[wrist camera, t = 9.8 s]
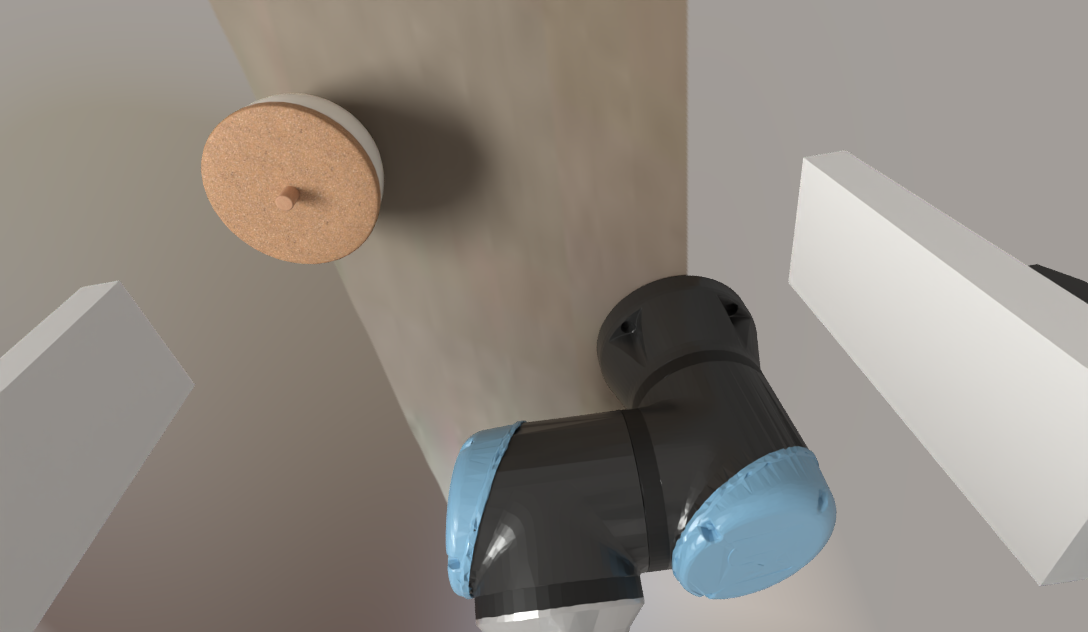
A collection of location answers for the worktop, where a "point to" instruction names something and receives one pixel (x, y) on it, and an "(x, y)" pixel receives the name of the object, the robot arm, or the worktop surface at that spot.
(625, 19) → the worktop surface
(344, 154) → the lidded jar
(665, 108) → the worktop surface
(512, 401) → the worktop surface
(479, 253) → the worktop surface
